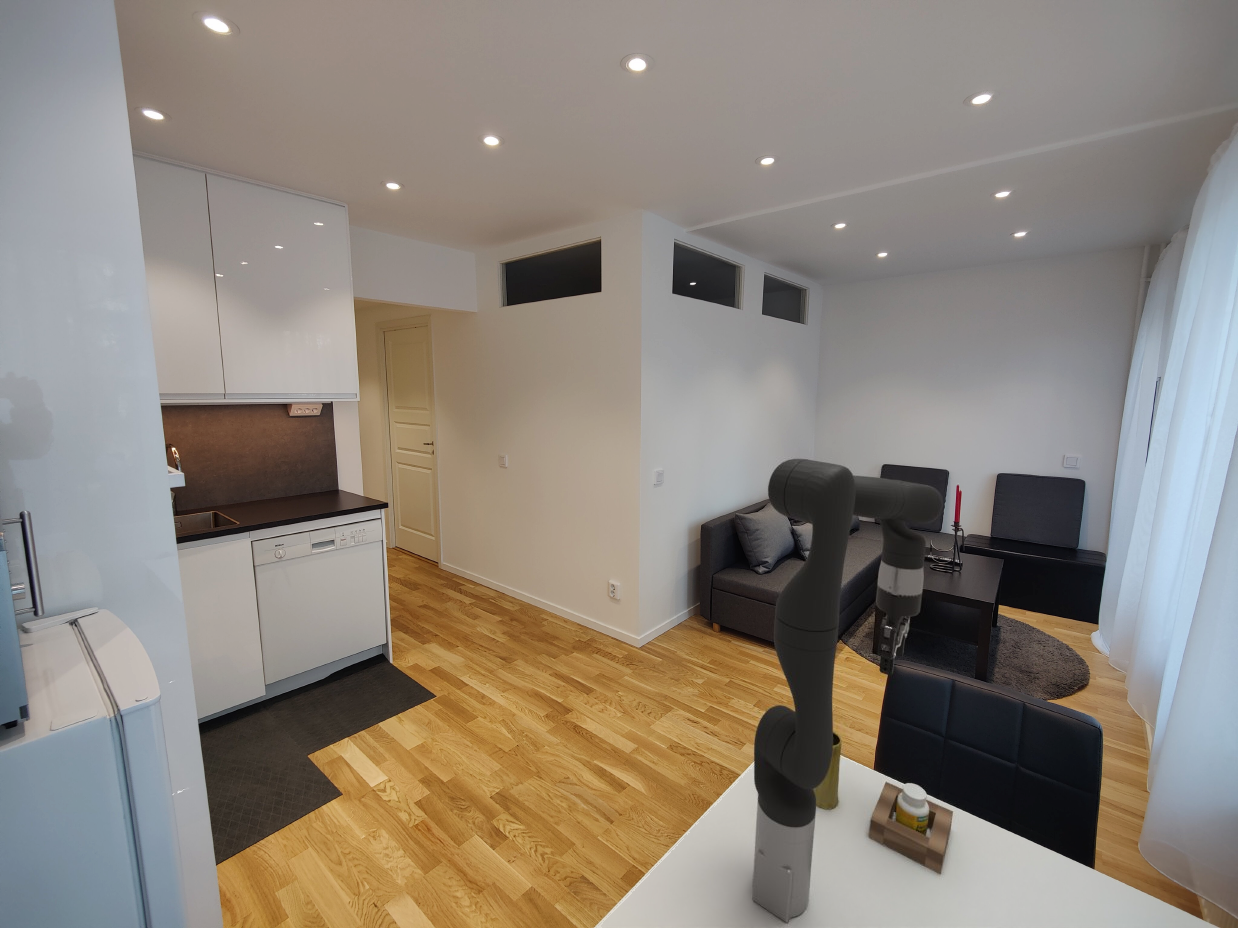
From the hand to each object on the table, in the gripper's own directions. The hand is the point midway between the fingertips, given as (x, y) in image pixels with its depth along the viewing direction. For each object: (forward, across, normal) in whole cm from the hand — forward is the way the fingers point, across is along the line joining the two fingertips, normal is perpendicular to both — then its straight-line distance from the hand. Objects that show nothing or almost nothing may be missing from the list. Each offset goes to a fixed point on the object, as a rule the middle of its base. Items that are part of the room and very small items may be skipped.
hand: (891, 663), depth 103 cm
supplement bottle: (+32, +3, +7) cm, 33 cm away
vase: (+32, +5, -9) cm, 34 cm away
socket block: (+32, +3, +7) cm, 33 cm away
